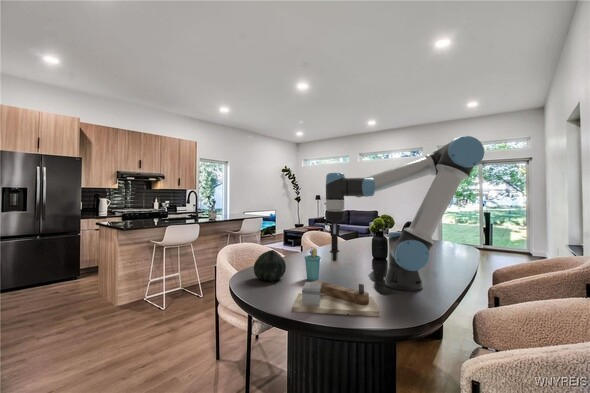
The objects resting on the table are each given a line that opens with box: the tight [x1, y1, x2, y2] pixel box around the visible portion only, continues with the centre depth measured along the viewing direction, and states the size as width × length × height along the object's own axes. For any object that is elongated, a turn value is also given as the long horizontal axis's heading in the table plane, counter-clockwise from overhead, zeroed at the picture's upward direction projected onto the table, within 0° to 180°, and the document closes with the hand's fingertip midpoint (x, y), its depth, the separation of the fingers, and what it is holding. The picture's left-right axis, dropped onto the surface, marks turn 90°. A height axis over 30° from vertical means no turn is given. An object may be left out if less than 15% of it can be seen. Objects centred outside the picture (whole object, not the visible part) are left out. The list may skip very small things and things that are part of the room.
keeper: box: [301, 281, 322, 306], centre depth 98 cm, size 6×10×5 cm, turn 171°
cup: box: [304, 247, 322, 282], centre depth 131 cm, size 14×8×15 cm, turn 171°
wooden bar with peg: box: [312, 279, 370, 305], centre depth 102 cm, size 24×5×6 cm, turn 46°
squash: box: [253, 249, 287, 282], centre depth 131 cm, size 14×15×15 cm
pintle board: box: [292, 292, 380, 317], centre depth 97 cm, size 28×14×2 cm, turn 81°
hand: (334, 268), depth 113 cm, fingers closed
